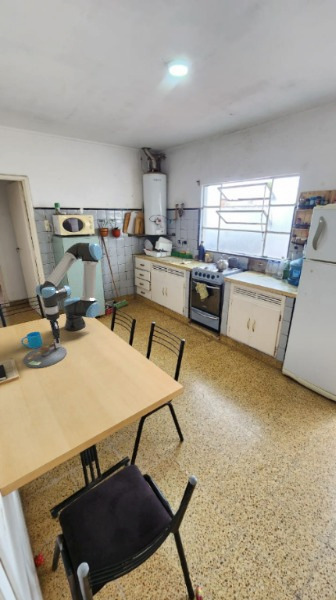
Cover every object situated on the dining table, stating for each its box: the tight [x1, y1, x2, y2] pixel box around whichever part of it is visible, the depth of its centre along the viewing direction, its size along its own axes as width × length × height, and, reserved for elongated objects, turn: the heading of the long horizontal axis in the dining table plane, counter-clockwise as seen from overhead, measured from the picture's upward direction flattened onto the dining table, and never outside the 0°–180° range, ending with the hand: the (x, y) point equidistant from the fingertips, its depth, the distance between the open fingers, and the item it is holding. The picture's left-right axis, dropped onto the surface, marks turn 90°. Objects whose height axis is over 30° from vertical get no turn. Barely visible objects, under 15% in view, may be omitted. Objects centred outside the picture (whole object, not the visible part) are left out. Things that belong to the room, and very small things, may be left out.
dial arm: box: [28, 341, 59, 359], centre depth 154 cm, size 22×6×4 cm, turn 153°
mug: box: [20, 331, 43, 349], centre depth 166 cm, size 12×8×8 cm
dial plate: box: [22, 345, 68, 369], centre depth 155 cm, size 24×24×4 cm
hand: (58, 347), depth 160 cm, fingers closed
